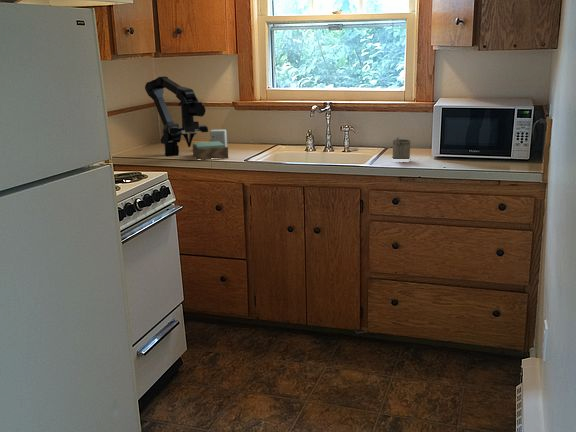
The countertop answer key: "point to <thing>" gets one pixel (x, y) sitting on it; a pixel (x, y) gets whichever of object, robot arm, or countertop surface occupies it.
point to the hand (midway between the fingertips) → (189, 147)
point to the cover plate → (208, 145)
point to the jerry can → (401, 149)
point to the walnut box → (210, 152)
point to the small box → (219, 136)
